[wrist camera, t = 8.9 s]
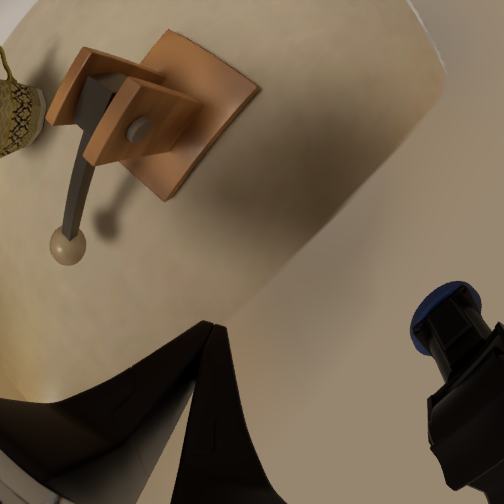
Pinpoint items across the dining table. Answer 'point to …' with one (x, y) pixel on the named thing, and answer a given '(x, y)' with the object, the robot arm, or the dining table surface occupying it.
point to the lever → (83, 165)
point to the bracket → (157, 109)
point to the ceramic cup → (19, 113)
